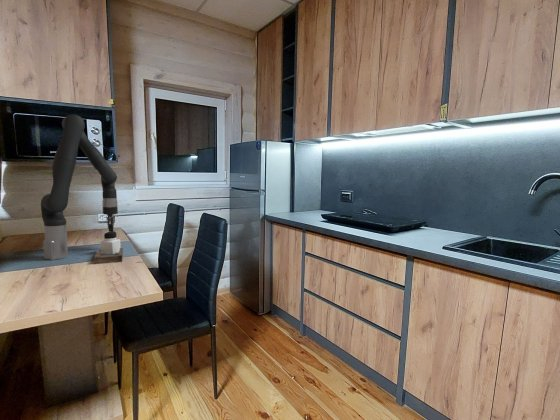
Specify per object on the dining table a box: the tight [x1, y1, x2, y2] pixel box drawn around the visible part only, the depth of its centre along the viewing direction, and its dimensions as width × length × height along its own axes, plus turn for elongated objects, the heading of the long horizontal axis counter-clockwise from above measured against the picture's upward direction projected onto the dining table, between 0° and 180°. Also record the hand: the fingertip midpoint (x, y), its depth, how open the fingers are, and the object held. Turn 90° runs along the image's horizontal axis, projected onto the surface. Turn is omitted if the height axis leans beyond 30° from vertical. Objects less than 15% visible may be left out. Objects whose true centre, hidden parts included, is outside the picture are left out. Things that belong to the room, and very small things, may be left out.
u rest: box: [93, 247, 124, 265], centre depth 156 cm, size 18×12×3 cm, turn 26°
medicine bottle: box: [99, 230, 121, 255], centre depth 166 cm, size 7×7×12 cm
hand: (111, 235), depth 173 cm, fingers closed
